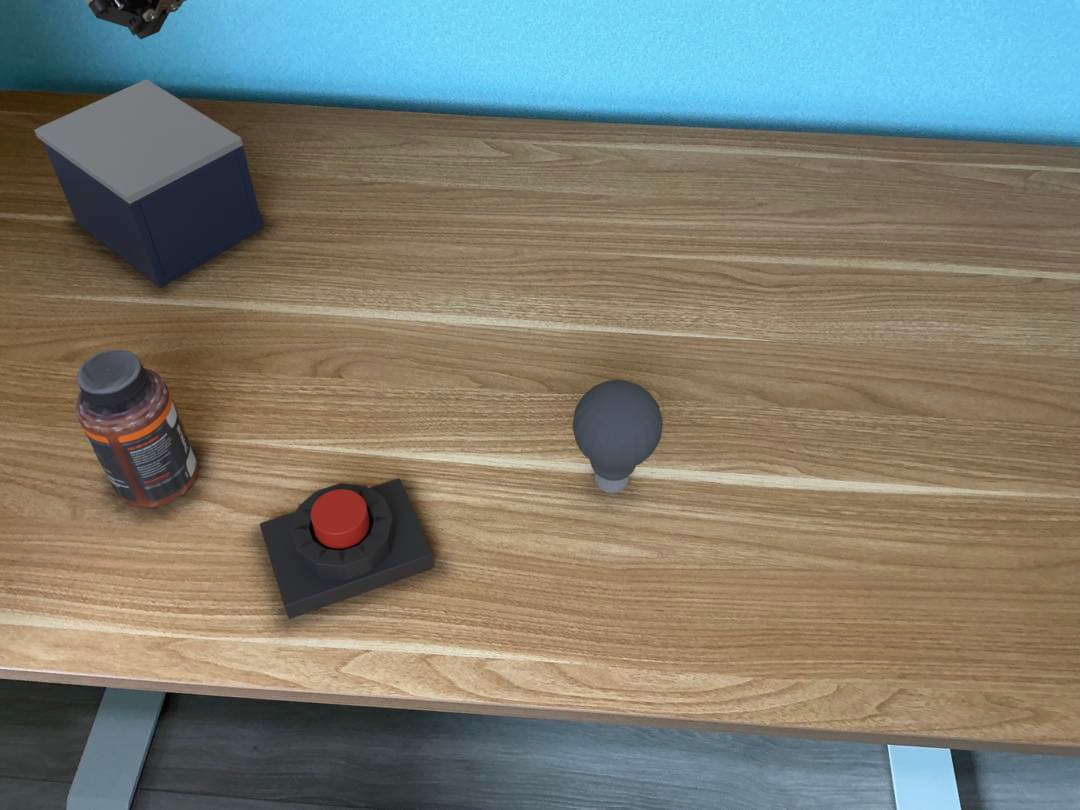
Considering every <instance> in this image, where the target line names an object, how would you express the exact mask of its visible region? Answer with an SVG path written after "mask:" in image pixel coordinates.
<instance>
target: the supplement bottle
mask: <svg viewBox="0 0 1080 810" xmlns="http://www.w3.org/2000/svg"><path fill="white" fill-rule="evenodd" d="M76 382H77V385H78V388H79V389H80V392H79V394H78V397H77V398H76V401H75V414H76V417H77V420H78V423H79V425H80V427H81V429H82V431H83V433H84V435H85V437H86V439H87V441H88V443H89V445H90V446H91V448H92V450H93V453H94V454H95V456H96V458H97V460H98V462H99V464H100V465H101V468H102V469H103V472H104V473H105V475H106V477H107V479H108V482H109V484H110V485H111V487H112V488H113V491H114V492H115V493H116V495H117V496H118V497H119V498H120V499H121V500H122V501H123V502H124V503H126V504H128V505H130V506H133V507H136V508H145V509H149V508H159V507H161V506H164V505H165V506H166V505H168V504H171V503H172V502H174V501H176V500H177V499H179V498H181V497H182V496H183V495H184V494H185V493H187V491H189V489H190V488H191V487H192V485H193V484H194V482H195V480H196V477H197V475H198V468H199V467H198V461H197V458H196V453H195V451H194V448H193V446H192V444H191V441H190V439H189V436H188V434H187V432H186V429H185V427H184V424H183V422H182V419H181V417H180V414H179V411H178V409H177V407H176V404H175V401H174V399H173V396H172V394H171V391H170V388H169V387H168V385H167V383H166V381H165V380H164V379H163V377H162V376H161V375H160V374H158V373H157V372H156V371H153V370H152V369H150V368H147V367H144V366H143V364H142V362H141V360H140V358H139V356H137V355H136V354H135V353H134V352H132V351H129V350H126V349H119V348H116V349H115V348H114V349H107V350H104V351H100V352H98V353H96V354H94V355H92V356H91V357H89V358H88V359H86V360H85V361H84V362H83V363H82V364H81V365H80V367H79V369H78V370H77V373H76Z"/></svg>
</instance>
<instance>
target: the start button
mask: <svg viewBox="0 0 1080 810" xmlns="http://www.w3.org/2000/svg"><path fill="white" fill-rule="evenodd" d="M311 520H312V524H313V528H314V531H315V535H316V537H317V539H318V540H319V541H320V542H321V543H322V544H324V545H325V546H327V547H330V548H335V549H343V548H348V547H351V546H353V545H355V544H357V543H358V542H360V541H361V540H362V539H363V538H364V537H365V535H366V534H367V532H368V529H369V523H370V522H369V516H368V511H367V506H366V503H365V501H364V499H363V498H362V497H361V496H360V495H359V494H357V493H356V492H354V491H351V490H346V489H338V490H333V491H330V492H327V493H325V494H324V495H322V496H321V497H319V498H318V499H317V500H316V502H315V503H314V505H313V507H312V510H311Z"/></svg>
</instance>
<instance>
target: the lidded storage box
mask: <svg viewBox="0 0 1080 810" xmlns="http://www.w3.org/2000/svg"><path fill="white" fill-rule="evenodd" d="M42 145H43V146H44V149H45V151H46V154H47V156H48V158H49V161H50V163H51V165H52V167H53V170H54V173H55V175H56V177H57V181H58V182H59V184H60V187H61V189H62V192H63V194H64V196H65V198H66V201H67V204H68V206H69V209H70V211H71V213H72V215H73V216H72V217H73V218H74V221H75V223H76V225H77V226H79V227H80V228H81V229H83V230H84V231H86V233H88V234H89V235H91V237H93V238H94V239H96V241H98V242H100V243H101V244H103V245H104V246H105V247H106V248H108V249H109V250H110V251H111V252H113V253H114V255H116V256H118V257H119V258H120V259H122V260H123V261H124V262H125V263H127V264H128V265H129V266H131V267H132V268H133V269H134V270H136V271H137V272H139V274H141V275H142V276H143V277H145V278H146V279H147V280H148V281H150V282H152V283H153V284H154V285H155V286H156V287H158V288H159V289H162V288H163V287H165V286H166V285H169V284H170V283H171V282H173V281H175V280H177V279H178V278H180V277H182V276H183V275H185V274H187V273H189V272H191V271H193V270H194V269H196V268H197V267H200V266H201V265H203V264H205V263H206V262H208V261H209V260H211V259H213V258H215V257H217V256H218V255H220V254H222V253H224V252H225V251H227V250H229V249H231V248H232V247H234V246H235V245H237V244H239V243H241V242H242V241H244V240H246V239H247V238H249V237H252V236H253V235H254V234H256V233H258V232H260V231H262V230H263V229H264V225H263V221H262V217H261V214H260V209H259V205H258V202H257V197H256V193H255V188H254V185H253V180H252V177H251V172H250V168H249V163H248V160H247V156H246V152H245V148H244V145H242V146H241V147H239V148H237V149H235V150H233V151H231V152H229V153H227V154H225V155H223V156H222V157H220V158H218V159H216V160H214V161H212V162H210V163H208V164H206V165H204V166H202V167H200V168H198V169H197V170H195V171H193V172H191V173H189V174H187V175H185V176H183V177H181V178H179V179H177V180H175V181H173V182H172V183H170V184H168V185H166V186H164V187H162V188H160V189H158V190H156V191H154V192H152V193H150V194H149V195H147V196H145V197H143V198H141V199H139V200H137V201H135V202H133V203H131V204H129V203H128V202H126V201H125V200H123V199H122V198H121V197H119V196H118V195H117V194H115V193H114V192H112V191H111V190H110V189H108V188H107V187H105V186H104V185H103V184H101V183H100V182H99V181H97V180H96V179H94V178H93V177H92V176H90V175H89V174H87V173H86V172H85V171H83V170H82V169H81V168H79V167H78V166H76V165H75V164H74V163H72V162H71V161H69V160H68V159H67V158H65V157H64V156H63V155H61V154H60V153H58V152H57V151H56V150H54V149H53V148H51V147H50V146H49V145H47V144H46V143H45V142H43V141H42Z"/></svg>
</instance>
